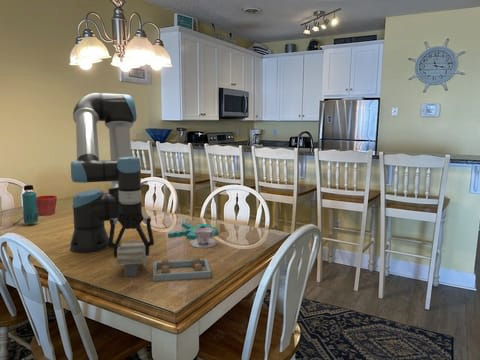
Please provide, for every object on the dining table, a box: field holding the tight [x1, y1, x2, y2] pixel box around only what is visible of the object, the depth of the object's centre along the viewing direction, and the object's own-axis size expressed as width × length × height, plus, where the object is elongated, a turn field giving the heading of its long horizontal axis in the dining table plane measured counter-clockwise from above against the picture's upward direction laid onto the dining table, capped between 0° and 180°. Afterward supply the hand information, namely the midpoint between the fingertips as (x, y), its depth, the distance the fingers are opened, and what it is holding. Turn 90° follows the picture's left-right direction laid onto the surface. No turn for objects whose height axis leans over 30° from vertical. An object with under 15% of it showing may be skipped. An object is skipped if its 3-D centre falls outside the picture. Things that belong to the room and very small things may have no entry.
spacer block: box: [123, 264, 140, 277], centre depth 129 cm, size 4×11×5 cm, turn 12°
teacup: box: [188, 228, 218, 249], centre depth 158 cm, size 12×12×6 cm
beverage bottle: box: [21, 184, 39, 224], centre depth 182 cm, size 6×7×20 cm
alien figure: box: [167, 221, 219, 240], centre depth 174 cm, size 20×2×20 cm
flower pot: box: [36, 194, 58, 216], centre depth 204 cm, size 11×11×10 cm
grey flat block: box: [116, 240, 144, 266], centre depth 128 cm, size 15×8×3 cm, turn 12°
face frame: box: [152, 256, 212, 282], centre depth 128 cm, size 19×12×4 cm, turn 102°
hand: (132, 264), depth 129 cm, fingers closed on grey flat block, 8 cm apart
